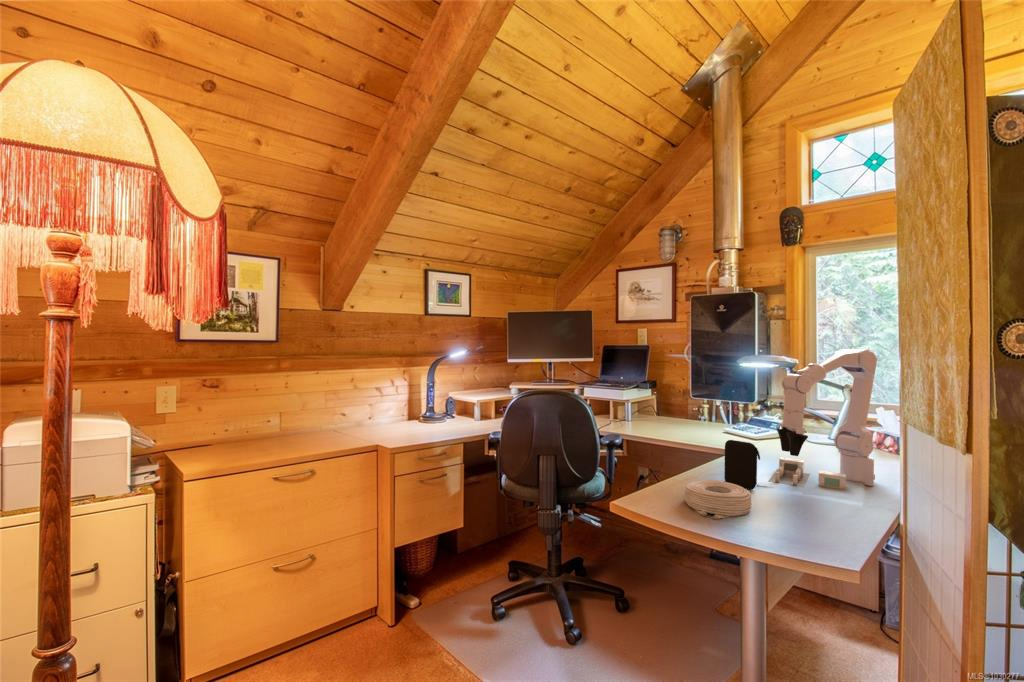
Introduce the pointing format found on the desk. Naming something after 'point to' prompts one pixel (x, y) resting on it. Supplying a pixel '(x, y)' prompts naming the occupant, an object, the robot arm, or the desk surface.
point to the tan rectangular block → (791, 465)
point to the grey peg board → (789, 478)
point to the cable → (717, 498)
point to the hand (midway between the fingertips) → (789, 453)
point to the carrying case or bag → (741, 463)
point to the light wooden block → (832, 479)
